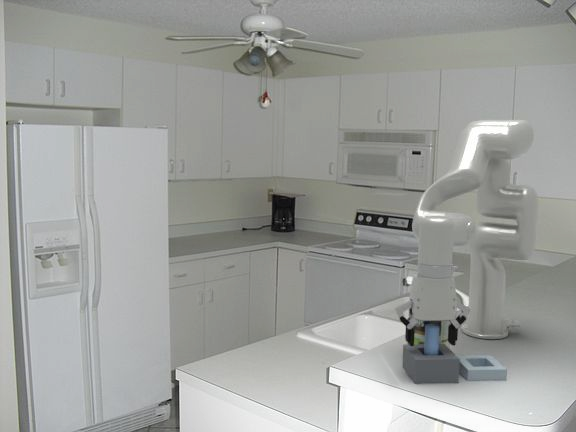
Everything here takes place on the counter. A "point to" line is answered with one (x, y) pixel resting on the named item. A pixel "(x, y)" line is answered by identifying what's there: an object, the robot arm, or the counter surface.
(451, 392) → the counter surface
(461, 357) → the square frame plate
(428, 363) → the port
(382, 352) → the counter surface
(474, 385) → the counter surface
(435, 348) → the plug
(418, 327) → the coffee can
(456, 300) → the robot arm
